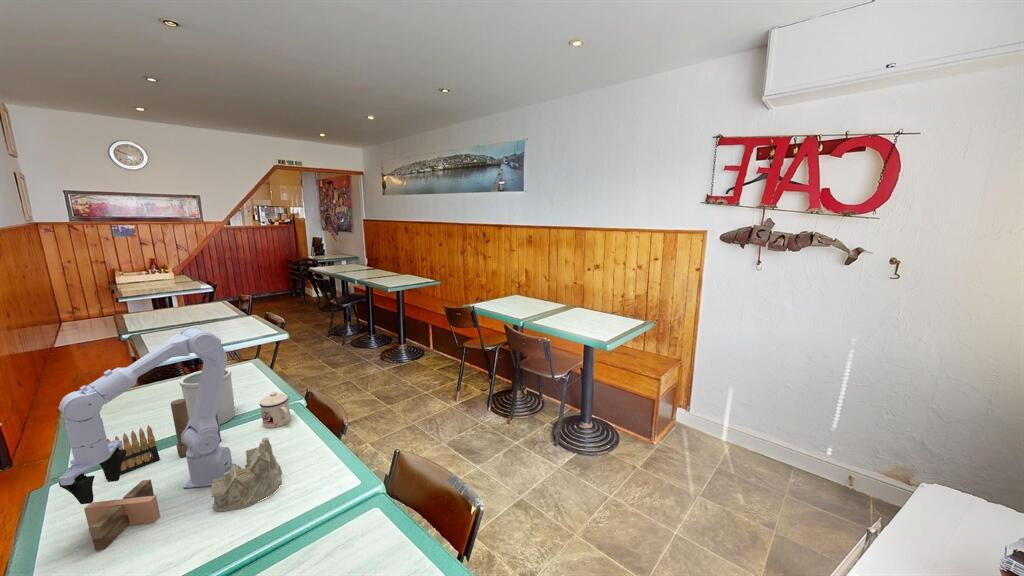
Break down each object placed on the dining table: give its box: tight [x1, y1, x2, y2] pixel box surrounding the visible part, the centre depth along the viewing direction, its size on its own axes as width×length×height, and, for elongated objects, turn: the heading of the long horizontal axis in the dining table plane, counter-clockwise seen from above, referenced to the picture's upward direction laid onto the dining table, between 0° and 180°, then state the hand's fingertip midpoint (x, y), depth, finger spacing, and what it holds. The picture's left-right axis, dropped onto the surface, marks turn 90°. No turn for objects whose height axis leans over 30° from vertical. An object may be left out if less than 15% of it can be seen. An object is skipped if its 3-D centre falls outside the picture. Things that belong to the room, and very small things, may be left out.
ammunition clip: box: [107, 424, 161, 476], centre depth 117 cm, size 11×2×12 cm, turn 143°
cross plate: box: [83, 494, 161, 531], centre depth 97 cm, size 14×2×6 cm, turn 100°
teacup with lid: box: [259, 391, 291, 429], centre depth 141 cm, size 12×9×12 cm
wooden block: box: [170, 398, 222, 458], centre depth 126 cm, size 4×11×18 cm, turn 146°
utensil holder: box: [179, 368, 236, 426], centre depth 144 cm, size 15×15×18 cm
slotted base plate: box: [88, 479, 155, 551], centre depth 97 cm, size 16×2×6 cm, turn 10°
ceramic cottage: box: [211, 436, 283, 513], centre depth 108 cm, size 16×16×15 cm
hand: (100, 491), depth 95 cm, fingers open, 7 cm apart
